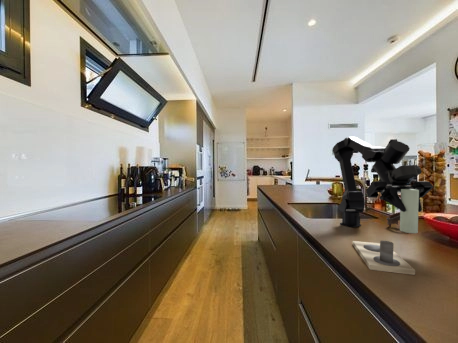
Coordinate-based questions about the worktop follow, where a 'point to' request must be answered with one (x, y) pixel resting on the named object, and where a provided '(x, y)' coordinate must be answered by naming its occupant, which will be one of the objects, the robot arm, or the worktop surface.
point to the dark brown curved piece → (393, 219)
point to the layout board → (379, 266)
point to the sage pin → (409, 211)
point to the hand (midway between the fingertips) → (412, 211)
